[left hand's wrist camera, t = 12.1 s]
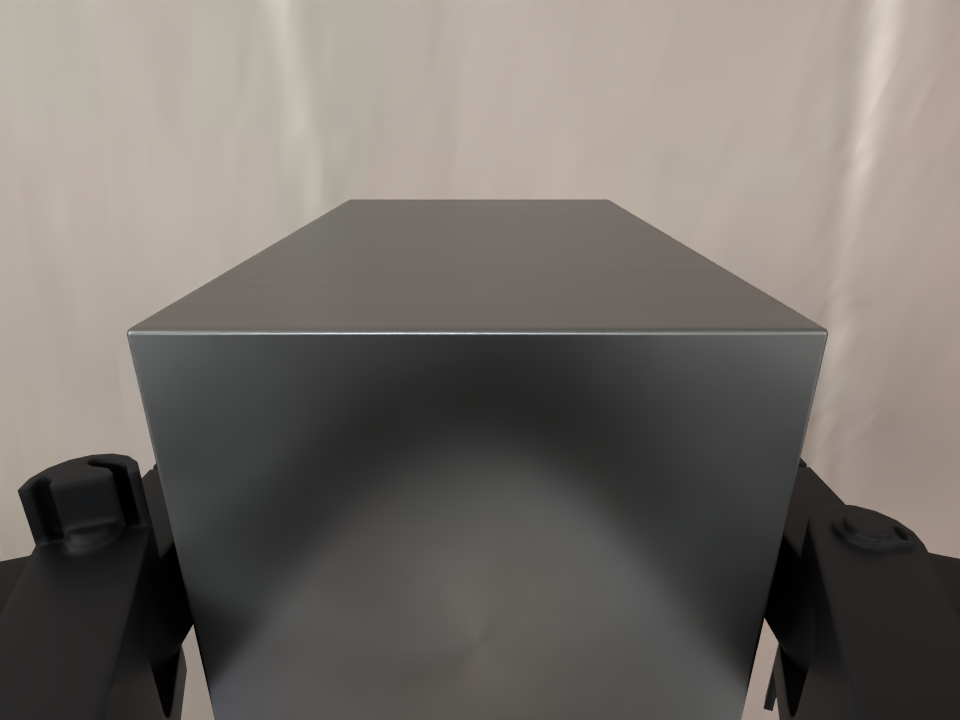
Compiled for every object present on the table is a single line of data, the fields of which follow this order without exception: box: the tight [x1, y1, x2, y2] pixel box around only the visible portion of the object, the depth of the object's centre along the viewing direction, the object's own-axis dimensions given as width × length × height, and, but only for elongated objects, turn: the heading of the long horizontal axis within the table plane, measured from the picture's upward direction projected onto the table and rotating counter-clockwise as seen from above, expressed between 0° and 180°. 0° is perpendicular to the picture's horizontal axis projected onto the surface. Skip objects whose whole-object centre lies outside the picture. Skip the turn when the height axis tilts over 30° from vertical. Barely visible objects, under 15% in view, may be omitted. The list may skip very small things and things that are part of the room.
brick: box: [127, 200, 828, 720], centre depth 12 cm, size 8×7×10 cm
